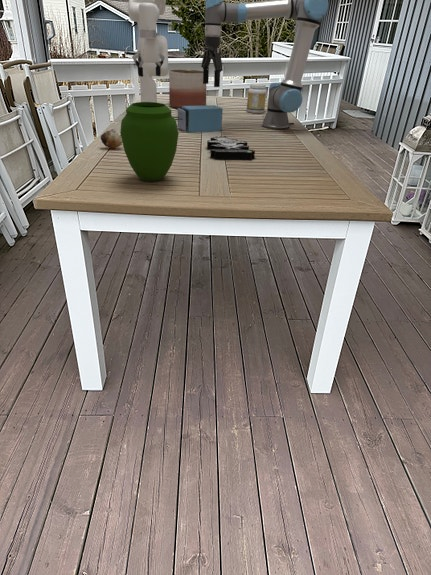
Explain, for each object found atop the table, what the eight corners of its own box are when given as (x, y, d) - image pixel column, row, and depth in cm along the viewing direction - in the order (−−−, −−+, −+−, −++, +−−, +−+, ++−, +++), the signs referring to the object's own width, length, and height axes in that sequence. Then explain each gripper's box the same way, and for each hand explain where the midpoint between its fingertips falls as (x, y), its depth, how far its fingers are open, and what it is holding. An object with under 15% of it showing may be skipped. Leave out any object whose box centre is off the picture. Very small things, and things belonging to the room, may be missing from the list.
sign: (211, 151, 170) (204, 135, 195) (211, 159, 172) (203, 142, 197) (256, 152, 172) (243, 136, 198) (255, 159, 174) (242, 143, 199)
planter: (200, 104, 298) (200, 69, 286) (210, 110, 277) (212, 73, 266) (165, 104, 290) (165, 69, 278) (174, 110, 270) (173, 72, 258)
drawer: (173, 130, 212) (172, 111, 207) (167, 127, 219) (166, 108, 214) (214, 128, 221) (215, 110, 216) (207, 125, 228) (207, 107, 223)
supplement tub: (247, 109, 285) (249, 83, 276) (264, 111, 283) (267, 84, 274) (245, 112, 274) (248, 84, 265) (264, 114, 273) (266, 86, 264)
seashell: (124, 147, 182) (123, 128, 178) (122, 150, 177) (120, 130, 173) (103, 146, 182) (101, 127, 178) (100, 149, 177) (98, 129, 173)
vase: (131, 189, 135) (125, 110, 122) (118, 172, 150) (112, 100, 137) (186, 184, 142) (187, 109, 129) (169, 168, 157) (167, 99, 144)
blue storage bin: (189, 132, 215) (189, 109, 209) (181, 128, 223) (181, 106, 217) (221, 130, 222) (222, 108, 216) (213, 126, 230) (214, 105, 224)
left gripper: (159, 35, 197) (160, 75, 206) (127, 34, 188) (130, 75, 197) (168, 35, 192) (168, 76, 201) (135, 34, 183) (137, 77, 192)
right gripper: (195, 35, 203) (194, 82, 215) (216, 36, 185) (214, 88, 196) (209, 35, 206) (207, 82, 218) (231, 37, 187) (228, 88, 199)
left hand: (149, 76), depth 199 cm, fingers open, 9 cm apart
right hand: (211, 85), depth 207 cm, fingers open, 13 cm apart
